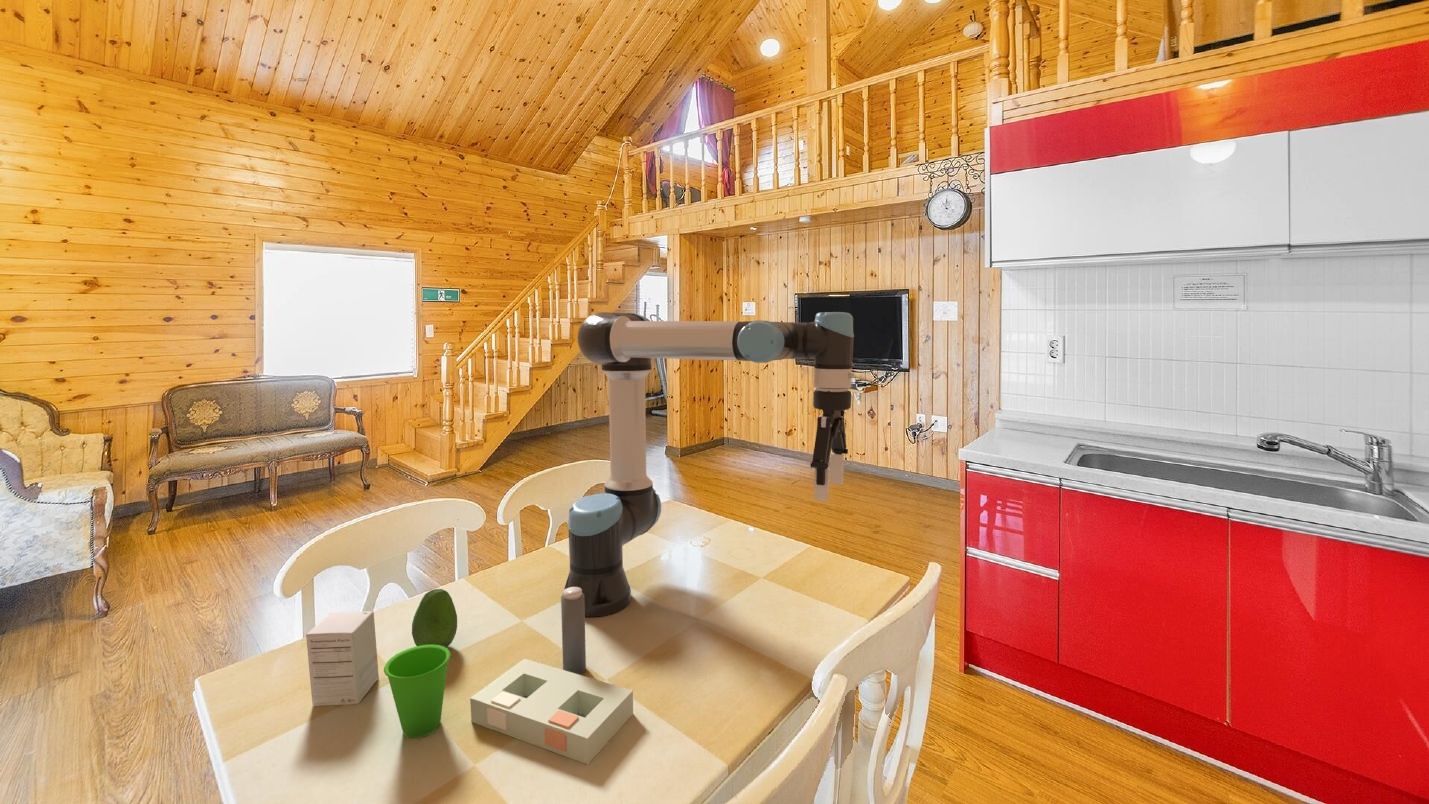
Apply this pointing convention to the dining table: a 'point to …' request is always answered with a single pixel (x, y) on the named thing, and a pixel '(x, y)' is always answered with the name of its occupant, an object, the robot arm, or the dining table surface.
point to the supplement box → (342, 658)
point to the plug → (573, 630)
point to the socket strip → (553, 709)
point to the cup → (418, 687)
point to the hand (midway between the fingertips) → (829, 491)
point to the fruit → (435, 619)
